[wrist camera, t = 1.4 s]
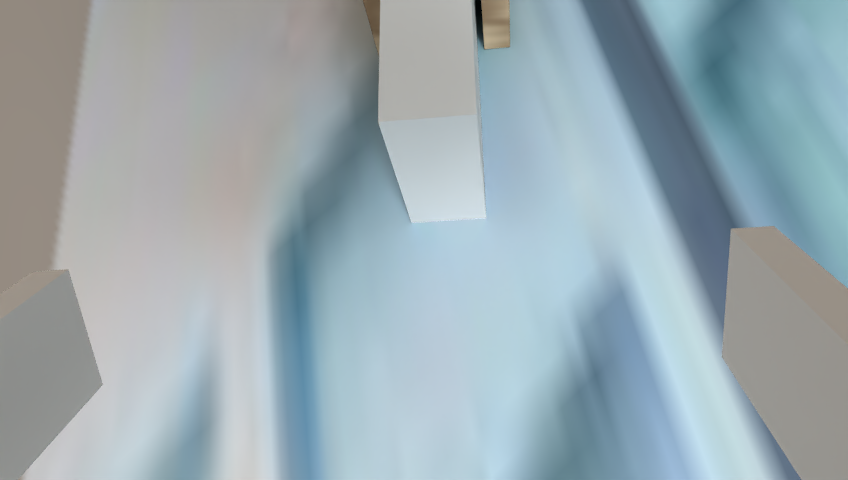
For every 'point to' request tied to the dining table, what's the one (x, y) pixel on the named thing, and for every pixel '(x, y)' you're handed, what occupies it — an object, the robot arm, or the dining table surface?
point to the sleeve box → (492, 16)
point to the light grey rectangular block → (432, 107)
